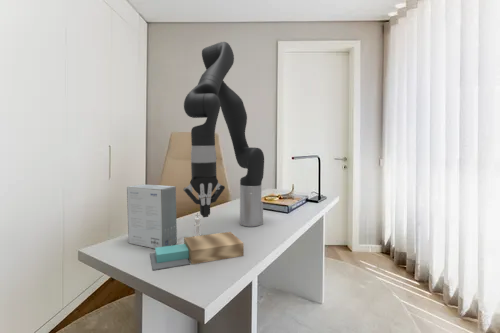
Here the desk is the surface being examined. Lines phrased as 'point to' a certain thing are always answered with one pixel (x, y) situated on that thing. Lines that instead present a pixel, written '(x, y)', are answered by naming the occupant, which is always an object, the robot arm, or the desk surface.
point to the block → (171, 253)
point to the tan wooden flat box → (213, 247)
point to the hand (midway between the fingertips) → (205, 216)
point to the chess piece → (197, 225)
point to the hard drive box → (152, 215)
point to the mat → (167, 263)
